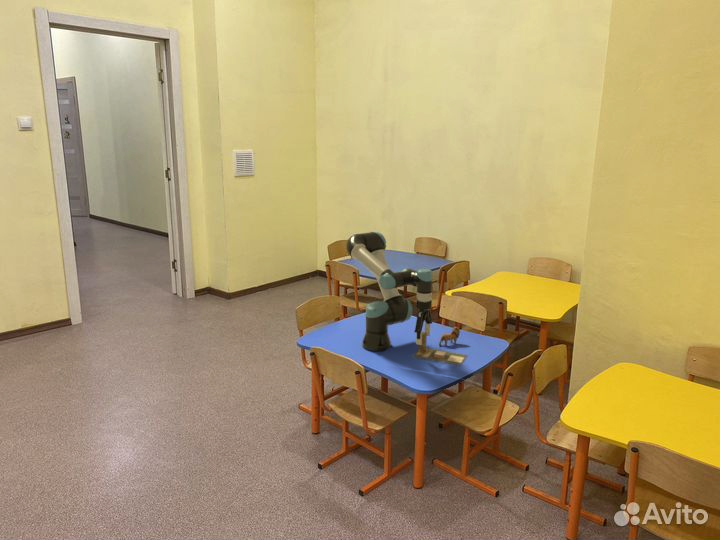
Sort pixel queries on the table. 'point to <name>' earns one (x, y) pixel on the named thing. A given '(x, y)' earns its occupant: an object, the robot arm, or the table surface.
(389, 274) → the robot arm
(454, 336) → the lion figurine
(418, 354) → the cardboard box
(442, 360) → the taupe mat
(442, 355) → the cream square tile
